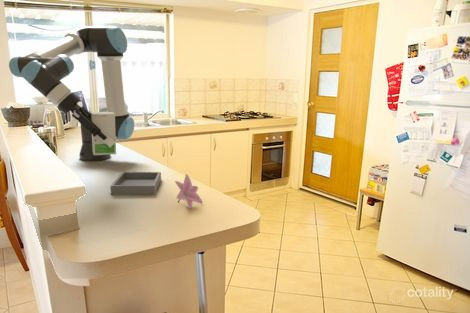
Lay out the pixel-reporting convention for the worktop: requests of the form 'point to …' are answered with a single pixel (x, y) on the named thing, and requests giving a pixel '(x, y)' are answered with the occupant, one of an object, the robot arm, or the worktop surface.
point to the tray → (136, 183)
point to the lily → (188, 192)
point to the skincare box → (106, 124)
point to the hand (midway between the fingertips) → (113, 142)
